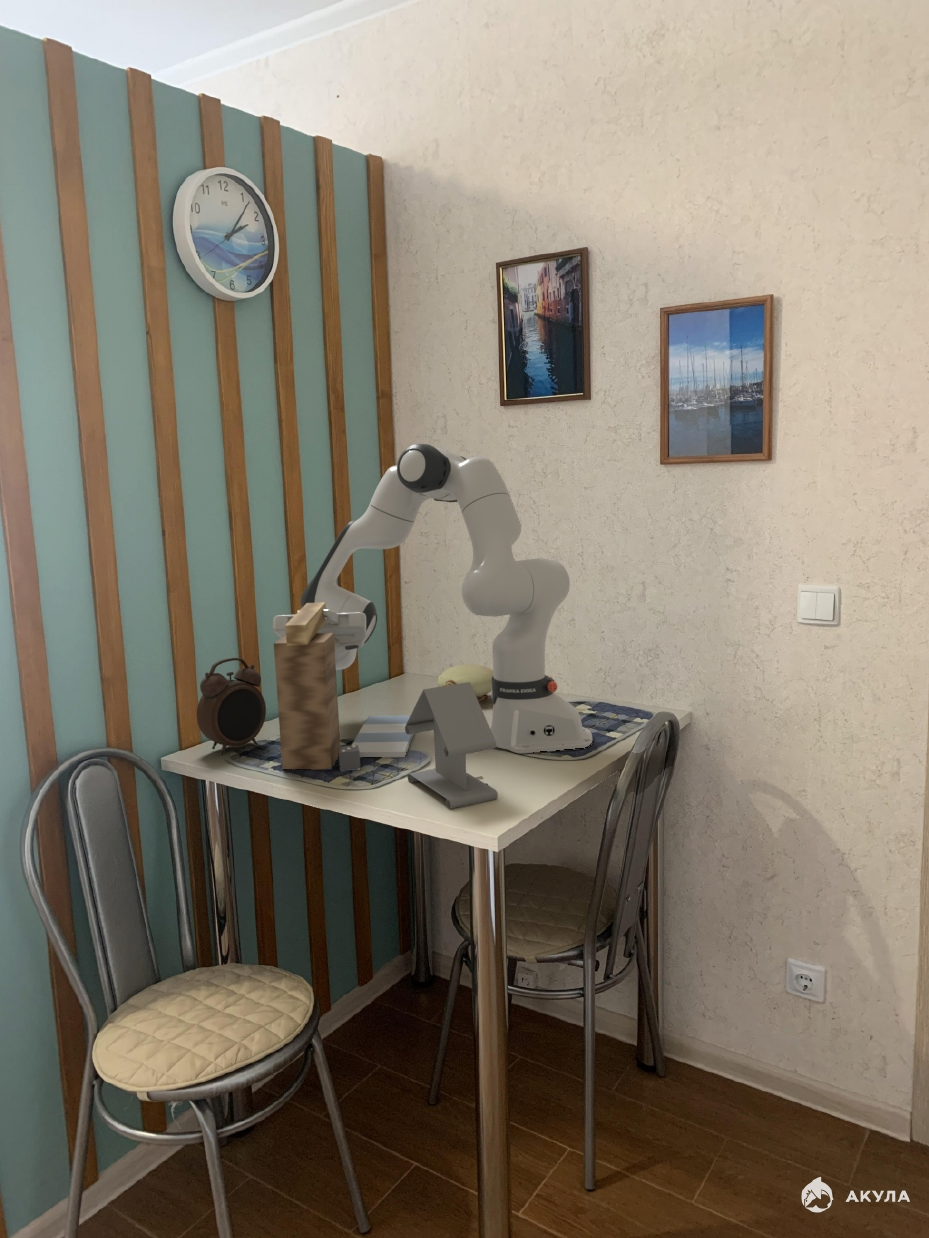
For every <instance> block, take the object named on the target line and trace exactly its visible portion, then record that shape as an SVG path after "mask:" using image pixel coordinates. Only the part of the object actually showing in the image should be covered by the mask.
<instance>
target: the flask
mask: <svg viewBox="0 0 929 1238" xmlns="http://www.w3.org/2000/svg"><path fill="white" fill-rule="evenodd" d="M492 677H493V668H490V667H487V666H485V665H479V664H476V663H462V664H459V665H455V666H451V667H449V668H447V669H446V670H445V671H443V672H442V673H441V674H440V675H439V676H438V679H437V687H442V686H448V685H454V684H461V683H467V682H470V683H471V686H472V688H473V690H474V693H475V695H476V697H477V699H478V697H481V696H482V697H481V698H479V699H478V702H479V703H480V702H482V701H484V700H486V699H485V698H487V699H488V698H489V697H488V696H489V695H488V694H489V693H491V681H492Z"/></svg>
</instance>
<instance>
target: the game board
mask: <svg viewBox="0 0 929 1238" xmlns="http://www.w3.org/2000/svg"><path fill="white" fill-rule="evenodd" d="M410 716H411V714H410V715H409V714H408V715H407V714H405V715H403V714H402V715H368V716H367V718H366V720H365V721H364V723H363V725H362V726H361V728H360V730H359V731H358V733H357V735H356V737H355V739H354V741H353V742H352V743H351V745H350V746H353V745H358V748H359V751H360V757H382V758H406V756H407V753H408V751H409V748H410V745H411V743H412V740H413V736H414V734H409V735H407V734H406V732H405V726H406V724H407V722H408V720H409V718H410ZM406 752H407V753H406ZM405 755H406V756H405Z"/></svg>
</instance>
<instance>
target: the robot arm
mask: <svg viewBox="0 0 929 1238" xmlns="http://www.w3.org/2000/svg"><path fill="white" fill-rule="evenodd" d="M396 463H397V464H396V465H392V466H390V467H389V468H388V469H387V470H386V472H385V473H384V474H383V476H382V477H381V480H380V481H379V483H378V484H377V486H376V488H375V490H374V493H373V495H372V497H371V500H370V503H369V504H368V507H367V509H366V511H365V512H364V513H363V514H362V515H361V516H360V517H359V518H358V519H353V520H351V521H349V522H348V523H347V524H346V525H345V526H344V527H343V529H342V530H341V532H340V533H339V535H338V536H337V538H336V539H335V541H334V543H333V545H332V546H331V548H330V549H329V552H328V553H327V555H326V556H325V558H324V560H323V562H322V564H320V567H319V569H318V570H317V572H316V573H315V575H314V576H313V578H312V579H311V581H310V582H309V584H308V585H307V586H306V588H305V589H304V591H303V593H302V594H301V596H300V597H301V598H300V601H299V603H300V607H301V609H302V608H303V607H304V605H305V604H306V603H322V602H325V605H326V609H325V610H323V614H322V616H323V619H324V620H327V621H326V622H325V623H324V625H323V626H322V627H321V628H320V630H319V631H318V632H317V633H334V647H335V664H336V671H339V670H340V671H341V670H345V669H348V668H349V667H350V666H351V665H352V664H353V663H354V662H355V659H356V657H357V651H358V649H361V648H364V647H365V644H366V643H367V642H368V641H369V640H370V638H371V636H372V635H373V634H374V631H375V629H376V626H377V622H378V613H377V609H376V608H377V607H376V605H375V604H374V602H373V601H371V600H369V599H367V598H365V597H363V596H361V595H358V594H357V593H354V592H352V591H350V590H347V589H345V588H343V587H341V586H339V585H338V584H337V579H338V577H339V576H340V574H341V572H342V571H343V569H344V567H345V566H346V564H347V562H348V560H349V559H350V558H351V555H352V554H353V553H355V552H356V551H357V550H361V549H362V550H364V549H370V550H388V549H389V550H390V549H393V548H396V547H398V546H400V545H402V544H404V542H405V541H406V540H407V538H408V537H409V535H410V533H411V531H412V529H413V527H414V523H415V521H416V519H417V517H418V516H417V515H418V514H419V510H420V508H421V507H422V505H423V504H424V503H425V501H428V500H429V499H433V500H434V501H436V502H446V503H458V505H459V509H460V512H461V514H462V517H463V520H464V523H465V525H466V530H467V533H468V535H469V538H470V542H471V546H472V563H471V566H470V568H469V570H468V571H467V573H466V574H465V577H464V578H463V581H462V584H461V595H462V600H463V603H464V605H465V606H466V608H467V609H468V610H469V611H470V613H472V615H473V614H474V615H476V616H482V617H495V618H496V617H503V616H508V615H509V616H508V617H509V618H508V620H507V622H506V624H505V627H504V628H503V629H502V630H501V631H500V632H499V633H498V634H497V635H495V638H494V639H493V641H492V670H493V677H492V681H491V692H490V695H491V703H492V715H491V716H492V717H491V723H490V729H491V732H492V734H493V736H494V739H495V741H496V748H499V749H504V750H509V751H510V752H513V753H516V754H530V753H532V754H533V752H534V753H541V752H540V751H547V752H557V751H556V750H560V751H565V750H564V749H573V750H576V749H575V748H584V749H586V748H585V747H587V746H589V745H590V744H591V743H592V741H594V740H593V734H592V732H591V731H590V729H588V728H586V727H584V726H583V723H582V718H581V715H580V713H579V711H578V710H577V708H576V707H575V706H574V705H573V704H571V703H569V701H567V700H566V699H564V698H563V697H561V696H560V695H559V694H557V693H556V692H557V690H558V683H557V682H556V681H555V679H553V677H552V676H551V675H550V676H548V675H546V669H545V668H546V666H545V665H546V664H545V663H546V659H545V658H546V657H545V656H546V639H547V635H548V631H549V628H550V624H551V622H552V619H553V617H554V615H555V613H556V611H557V609H558V608H559V606H560V605H561V604H562V603H563V602H564V600H565V599H566V598H567V597H568V594H569V592H570V586H571V584H570V576H569V573H568V571H567V569H566V568H565V566H564V565H563V564H562V563H561V562H559V561H557V560H553V559H546V558H540V557H539V558H529V559H523V560H522V559H521V560H516V559H515V557H514V555H513V550H512V547H513V545H514V544H515V543H516V542H517V541H518V539H519V537H520V535H521V533H522V524H521V521H520V519H519V516H518V513H517V511H516V508H515V505H514V503H513V500H512V498H511V494H510V493H509V490H508V487H507V486H506V484H505V482H504V479H503V478H502V476H501V473H500V472H499V470H498V469H497V467H496V465H495V464H494V463H493V461H491V460H490V459H489V458H487V457H484V456H472V457H468V458H466V457H464V456H462V455H458V454H456V453H454V452H452V451H449V450H448V449H445V448H442V447H439V446H438V447H437V446H433V445H431V444H426V443H417V444H412V445H409V446H408V447H407V448H405V449H404V450H403V451H402V452H401V453H400V455H399V458H398V460H397V462H396ZM301 609H299V610H297V613H298V612H299V611H300V610H301ZM297 613H296V614H297ZM296 614H280V615H279V614H278V615H275V616H274V617H273V620H272V621H273V622H272V631H273V633H274V634H275V635H276V636H278V637H279V639H280V638H281V637H283V636H284V635H285V634H286V631H285V625H286V624H287V623H288V622H289V621H290V620H291V619H292V618H293V617H294V616H295V615H296ZM592 744H593V743H592ZM592 744H591V745H592ZM589 747H590V746H589Z"/></svg>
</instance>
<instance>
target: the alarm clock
mask: <svg viewBox="0 0 929 1238" xmlns="http://www.w3.org/2000/svg"><path fill="white" fill-rule="evenodd" d="M233 661H234V662H235V661H238V662H241V664H242V665H243V667H242V668H240V669H238V670H237V672H235V673H234V671H229V672H227V673H226V676H227V677H229V678H226V677H225V676H224V675H223V674H221V673H220V672H215V671H216V668H217V667H218V666H219V665H222V664H224V663H227V662H228V663H229V662H233ZM204 676H205V677H203V678H202V679H201V682H200V683H199V689H200V692H201V694H202V695H201V697H200V699H199V701H198V704H197V707H196V719H197V720H196V722H197V725H198V728H199V730H200V732H201V733H202V735H204V737H205V738H207V739H208V740H210V741H212V742H213V744H212V745H213V746H212V748H211V749H212V750H215V749H216V747H217V745H220V746H221V750H220V752H219V754H220V755H223V754H224V752H225V750H226V748H227V747H242V746H245V745H246V744H248V743H250V742H253V743H254V745H255V744H257V745H258V744H259V743H258V742H257V741H256V737H257V736H258V735H259V733H260V732H261V730H262V729H263V726H264V723H265V719H266V715H267V714H266V713H267V707H266V701H265V698H264V695H263V693H262V692H261V691H260V690H259V689H258V688H260V687H261V681H262V677H261V674H260V673H259V672H258V671H257V670H255V664H251V665H248V663H247V662H246V660H244V659H243V658H241V657H229V658H224V659H221V660H220V659H219V660H218V661H216V662H214V663H213V664H212V665H211V668H210V671H209V672H205V673H204ZM232 676H233V679H232Z"/></svg>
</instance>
